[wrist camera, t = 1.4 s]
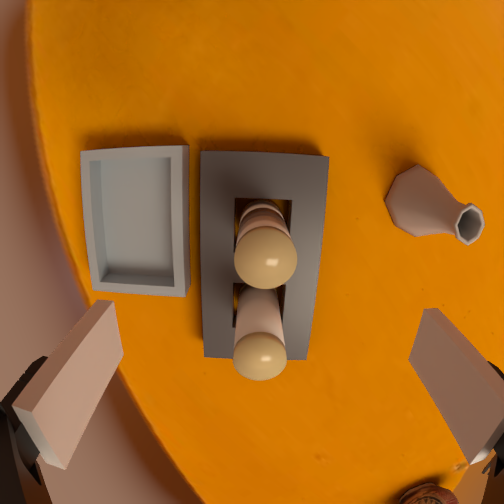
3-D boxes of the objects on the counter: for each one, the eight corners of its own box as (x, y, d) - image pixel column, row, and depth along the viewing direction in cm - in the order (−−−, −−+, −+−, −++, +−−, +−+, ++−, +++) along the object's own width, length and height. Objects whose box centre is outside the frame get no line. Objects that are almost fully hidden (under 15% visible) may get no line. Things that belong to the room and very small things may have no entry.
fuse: (239, 277, 33) (233, 338, 22) (278, 278, 33) (289, 339, 22) (238, 311, 34) (232, 379, 24) (275, 312, 34) (284, 380, 24)
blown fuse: (241, 198, 30) (234, 228, 20) (283, 200, 30) (299, 231, 20) (240, 239, 32) (233, 287, 21) (281, 240, 32) (294, 289, 21)
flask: (372, 200, 30) (418, 226, 21) (416, 151, 28) (474, 159, 19) (412, 247, 32) (461, 285, 22) (453, 200, 30) (511, 224, 21)
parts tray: (94, 149, 28) (80, 151, 26) (189, 145, 29) (182, 145, 26) (104, 278, 33) (93, 290, 30) (190, 283, 33) (185, 297, 30)
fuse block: (204, 150, 29) (200, 151, 26) (323, 155, 29) (329, 156, 26) (206, 343, 36) (204, 357, 33) (303, 346, 36) (306, 359, 33)
